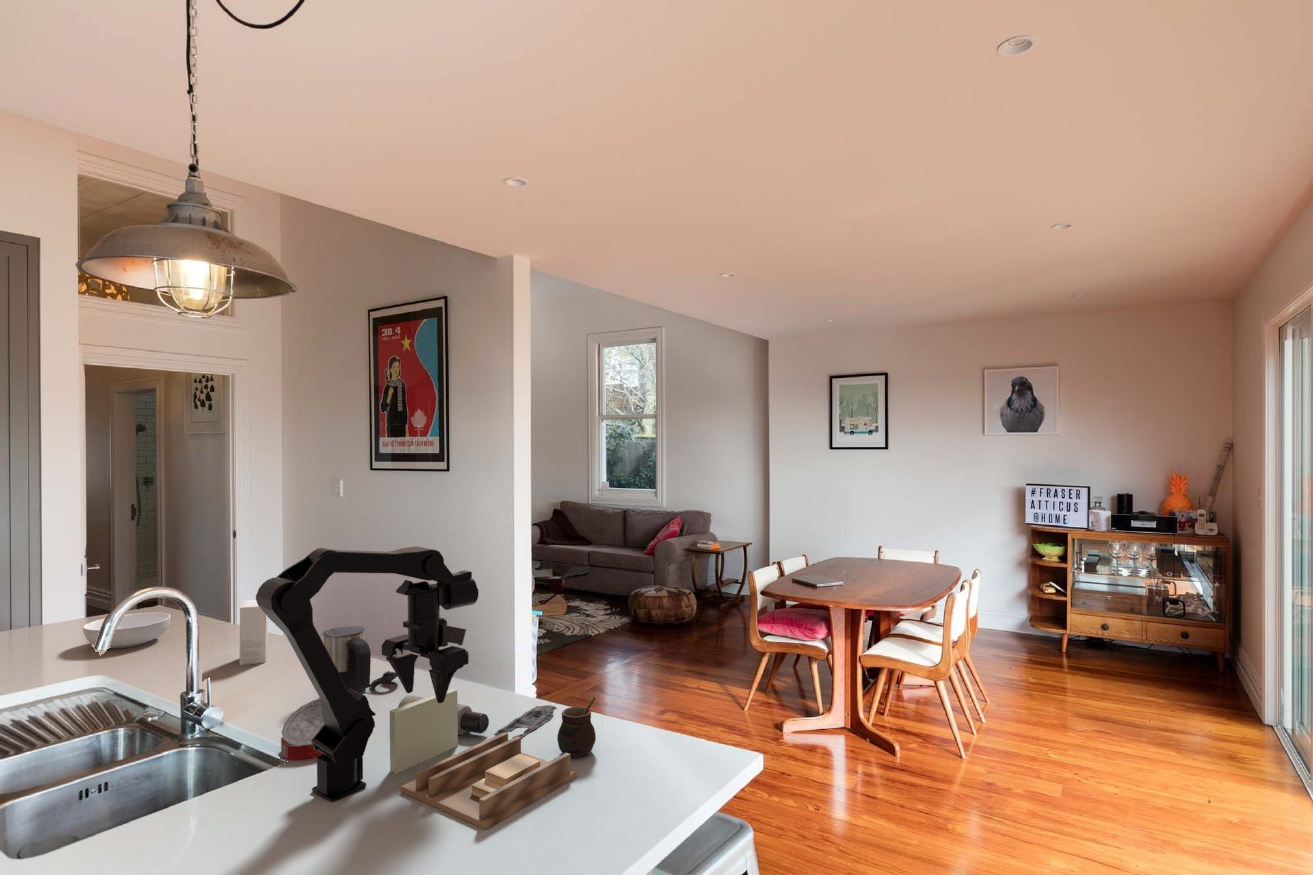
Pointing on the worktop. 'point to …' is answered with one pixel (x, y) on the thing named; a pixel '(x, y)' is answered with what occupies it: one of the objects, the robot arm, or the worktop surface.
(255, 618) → the skincare box
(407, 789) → the walnut rack
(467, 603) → the robot arm
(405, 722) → the green sheet
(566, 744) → the mate gourd
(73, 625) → the worktop surface
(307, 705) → the canned food
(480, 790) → the pine offcut
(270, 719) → the worktop surface
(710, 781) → the worktop surface
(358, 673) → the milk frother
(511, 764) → the oak offcut
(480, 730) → the lotion bottle
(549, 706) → the driftwood
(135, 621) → the serving bowl
